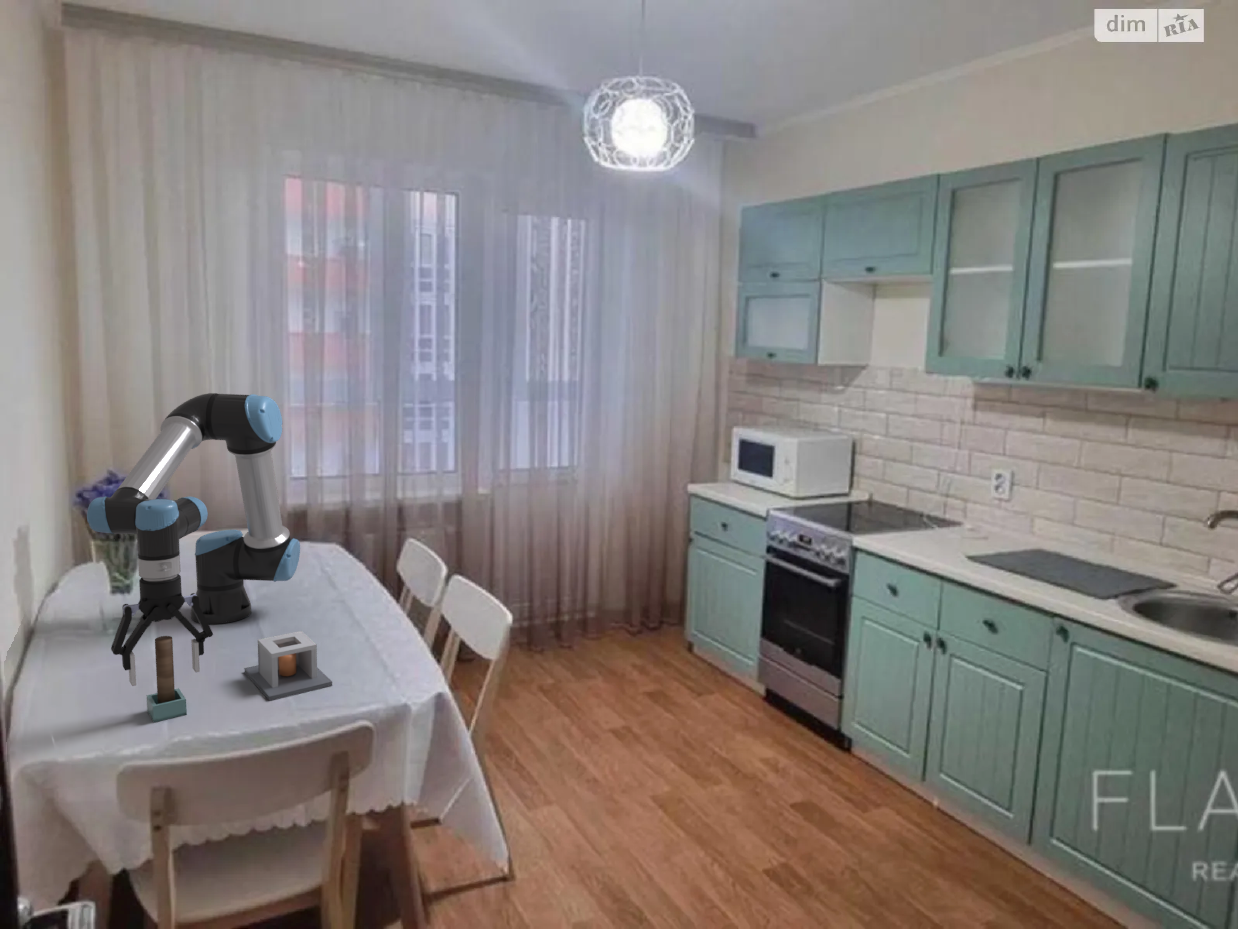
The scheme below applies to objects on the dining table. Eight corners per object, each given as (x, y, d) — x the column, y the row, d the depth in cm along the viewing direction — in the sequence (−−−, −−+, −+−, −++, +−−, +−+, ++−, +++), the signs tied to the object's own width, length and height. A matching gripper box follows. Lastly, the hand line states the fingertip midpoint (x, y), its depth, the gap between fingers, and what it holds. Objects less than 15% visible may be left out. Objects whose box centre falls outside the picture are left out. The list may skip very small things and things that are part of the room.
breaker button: (276, 671, 198) (276, 653, 198) (293, 668, 201) (292, 650, 200) (282, 677, 196) (281, 659, 195) (298, 673, 198) (298, 655, 197)
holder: (147, 711, 180) (146, 695, 180) (179, 703, 184) (178, 688, 184) (153, 722, 176) (152, 706, 175) (186, 714, 179) (186, 699, 179)
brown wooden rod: (156, 709, 180) (153, 637, 177) (173, 706, 182) (170, 634, 179) (160, 715, 177) (156, 642, 175) (177, 712, 179) (173, 639, 177)
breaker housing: (244, 672, 201) (243, 635, 199) (304, 659, 210) (303, 624, 208) (269, 701, 187) (268, 662, 186) (332, 685, 196) (331, 648, 194)
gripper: (96, 590, 164) (103, 697, 168) (226, 571, 179) (230, 670, 183) (89, 580, 170) (96, 683, 174) (216, 562, 185) (220, 658, 189)
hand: (165, 676), depth 178 cm, fingers open, 11 cm apart
